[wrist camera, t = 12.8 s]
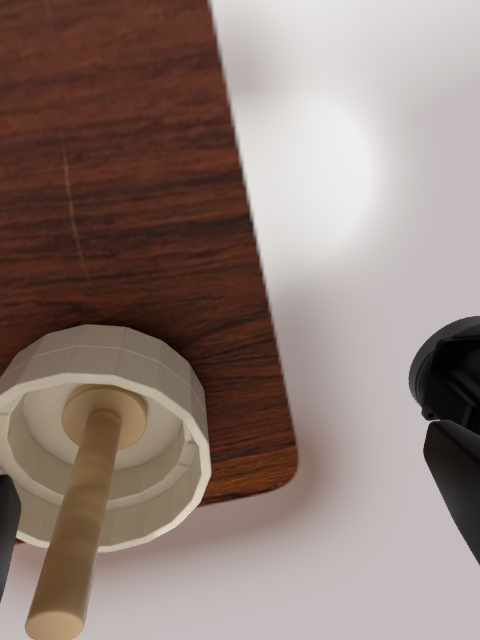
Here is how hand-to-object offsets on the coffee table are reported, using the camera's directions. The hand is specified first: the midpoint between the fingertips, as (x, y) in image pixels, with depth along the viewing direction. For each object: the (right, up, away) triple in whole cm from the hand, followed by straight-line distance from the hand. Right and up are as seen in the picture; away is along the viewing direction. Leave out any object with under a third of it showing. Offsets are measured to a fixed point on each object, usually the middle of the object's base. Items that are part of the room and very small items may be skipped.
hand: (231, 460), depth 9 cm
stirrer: (-7, -2, +14) cm, 16 cm away
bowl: (-7, -2, +14) cm, 16 cm away
